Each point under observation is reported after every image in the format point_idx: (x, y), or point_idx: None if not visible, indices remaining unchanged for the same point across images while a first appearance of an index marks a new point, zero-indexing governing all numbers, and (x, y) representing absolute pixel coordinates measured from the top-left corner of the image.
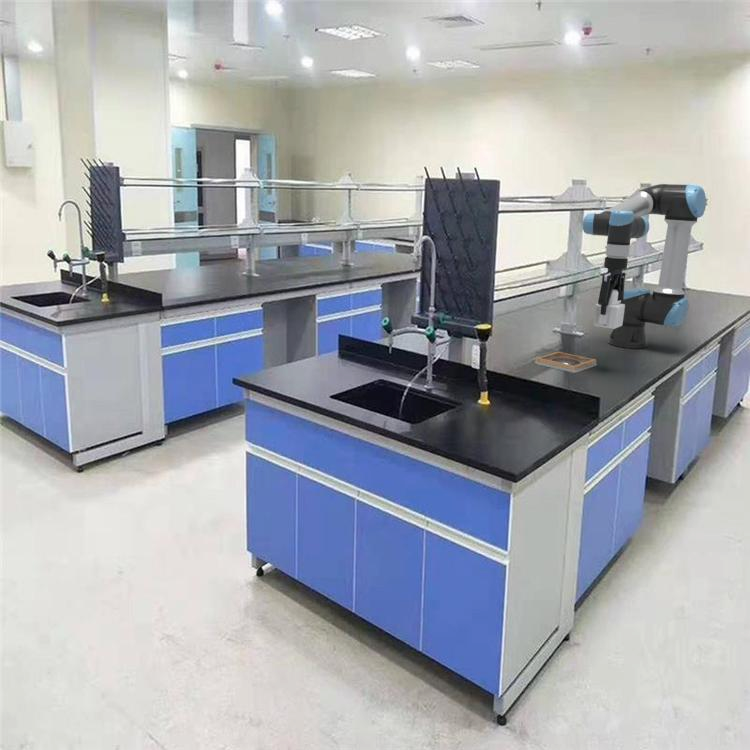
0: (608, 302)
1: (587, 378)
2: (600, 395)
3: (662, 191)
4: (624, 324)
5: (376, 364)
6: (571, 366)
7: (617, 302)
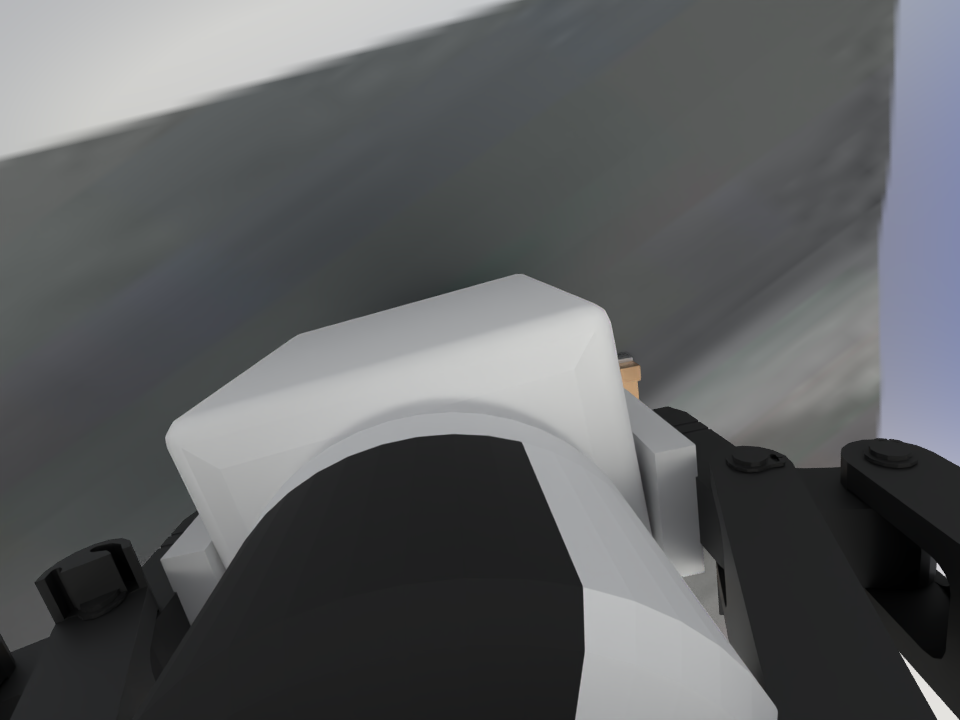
0: (733, 486)
1: (659, 256)
2: (887, 12)
3: None
4: None
5: None
6: (636, 385)
7: (507, 420)
